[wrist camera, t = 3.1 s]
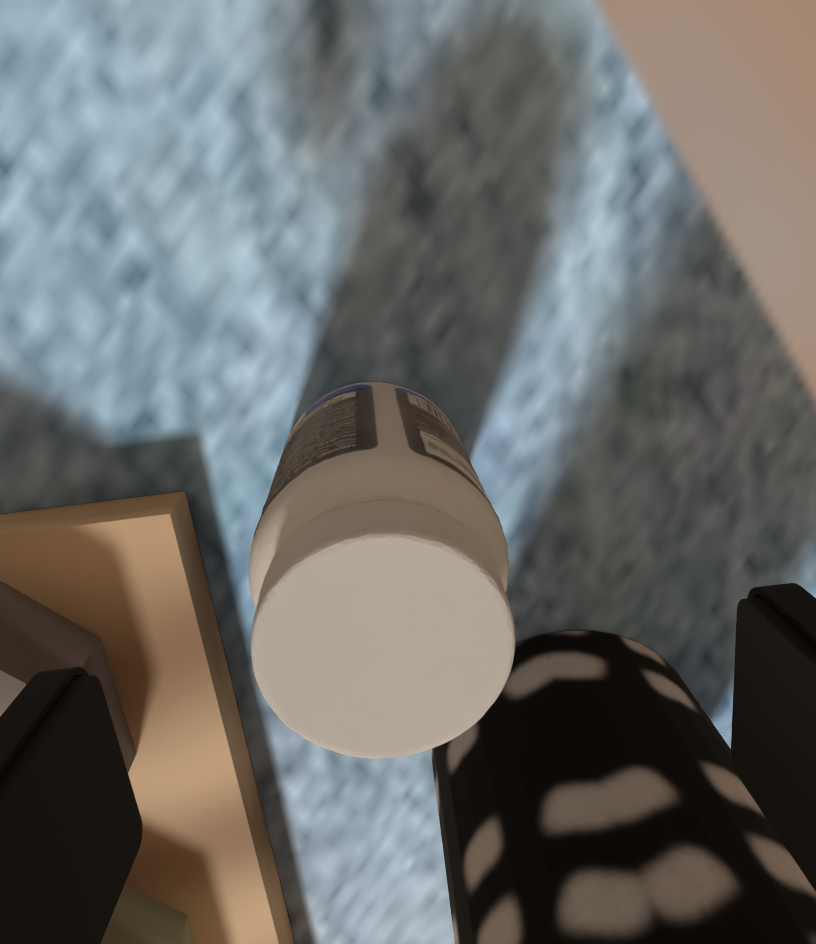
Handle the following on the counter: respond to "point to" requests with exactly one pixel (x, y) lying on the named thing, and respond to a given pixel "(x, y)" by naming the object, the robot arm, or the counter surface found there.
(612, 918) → the spotted tube
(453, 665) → the pill bottle
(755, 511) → the counter surface
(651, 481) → the counter surface
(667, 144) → the counter surface
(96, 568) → the socket board
